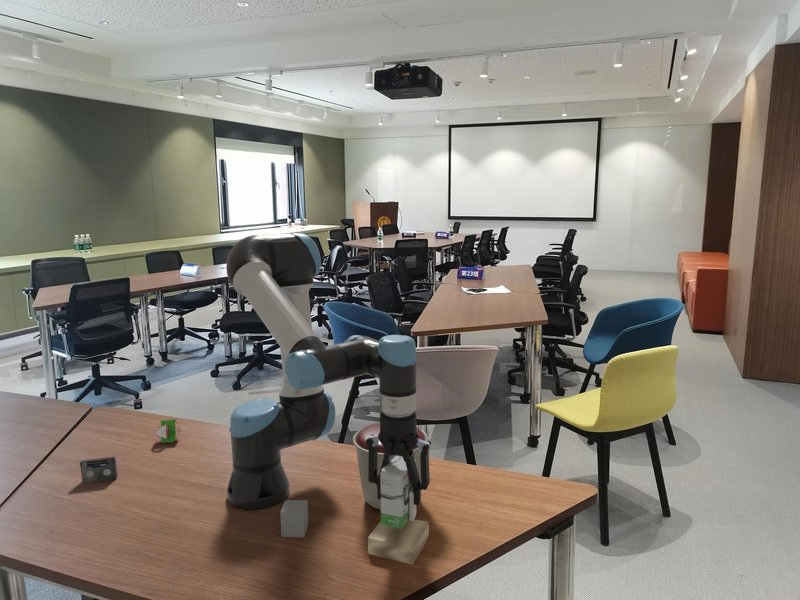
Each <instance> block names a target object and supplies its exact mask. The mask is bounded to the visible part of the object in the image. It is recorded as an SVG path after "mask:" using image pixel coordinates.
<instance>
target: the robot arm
mask: <svg viewBox="0 0 800 600" xmlns="http://www.w3.org/2000/svg"><path fill="white" fill-rule="evenodd" d="M225 267H226V275H227V278H228V281H229V283H230V284H231V287H233V289H234V290H235V292H236V293H238V294H240V295H242V296H244V297H245V298H246V300H247V301H248V303H249V304H250V305H251V307H252V309H253V310H254V311H255V313H256V314H257V316H258V317H259V318H260V320H261V321H262V323H263V324H264V325H265V327H266V329H267V330H268V331H269V333H270V334H271V335H272V337H273V339H274V340H275V341H276V343H277V344H278V346H279V348H280V358H281V368H282V369H281V370H282V376H283V377H282V378H283V387H282V388H281V390H279V392H278V397H279V398H278V399H279V402H278V401H276V400H275V399H273V398H269V397H264V398H261V399H260V398H256V399H251V400H249V401H246V402H243V403H241V404H240V405H238V406H237V407H236V408H235V409H234V410H233V411H232V412H231V415H230V422H229V423H230V427H229V433H230V441H231V442H230V443H231V455H232V456H231V458H232V471H231V475H230V477H229V482H228V485H227V487H226V489H227V491H226V496H227V501H228V503H229V504H230V505H231V506H233V507H234V508H238V509H241V510H261V509H266V508H269V507H273V506H275V505H278V504H279V503H281V502H283V501H285V499H286V498H287V497H288V495H289V493H290V482H289V478H288V477H287V474H286V472H285V468H284V466H283V464H282V457H281V451H282V450H285V449H287V448H288V449H289V448H290V447H295V446H298V445H301V444H304V443H307V442H310V441H316V440H318V439H319V438H321V437H325V436H326V435H329V433H330V432H331V430H332V429H333V428H334V426H335V425H334V424H335V420H336V407H335V403H334V401H333V397H332V396H331V394H329V393H328V391H325V387H324V386H323V385H327V384H331V383H335V382H340V381H345V380H348V379H353V378H357V377H360V376H363V375H364V376H365V375H366V376H367V375H369V376H371V377H373V378H376V379H378V381H379V382H378V383H379V388H378V389H379V410H380V413H379V422H380V433H379V435H373V434H371V435H370V436H369V437H368V438H367V440H366V443H367V446H368V449H369V463H368V481H369V482H370V483H375V484H376V485H377V497H378V500H381V480H380V473H379V476H378V475H377V463H378V444H379V441H380V442H381V444H382V445H383V447H384V448H385V453H384V457H383V462H382V465H381V469H380V472H381V470H382V469H383V468H384V467H385V466H388V464H389V463H390V461H391V458H392V455H399V456H403V460H404V462H405V463H406V467H407V470H408V474H409V477H410V481H411V484H412V488H411V490H410V492H409V503H410V521H413V520H414V519H416V516H417V506H419V504H420V503H421V500H422V490H423V491H425V490H427V489H428V487H429V485H430V478H431V477H430V456H429V455H430V453H429V452H430V448H431V446H432V441H430V440H429V439H428V440H427V441H423V440H421V439H419V437H418V435H417V431H416V429H417V428H418V427H417V412H416V410H417V409H418V408H417V362H418V361H417V360H418V356H417V350H416V349H417V347H416V342H415V339H414V338H412V337H411V336H410V335H409V336H408V335H400V334H391V335H384V336H382V337H380V339H379V340H378V339H375V338H371V336H367V335H360V334H359V335H358V334H356V335H351V336H349V337H348V338H346V340H344V342H341V343H335V344H330V345H325V344H324V342H323V341H322V340H321V339H320V338H319V337H318V335H317V334H316V332H315V331H314V330H313V324H312V315H311V314H312V313H311V305H310V304H311V303H310V295H309V294H310V293H309V291H310V290H311V288H312V287H313V286H314V284H315V283H314V278H315V277H316V276H318V275H319V273H320V271H321V269H320V268H322V260H321V254H320V250H319V248H318V246H317V244H316V242H315V241H314V240H313V238H312V237H310V235H307V234H305V233H298V232H297V233H296V232H295V233H294V232H289V233H276V234H260V235H259V234H255V235H254V234H253V235H248V236H246V237H243V238H242V239H240V240H239V241H238V242H237V243H235V244H234V246H233V247H232V248H231V249H230V251H229V253H228V255H227V259H226V266H225ZM416 445H418V447H419V451H420V452H421V455H420V464H421V481H420V477H419V474H418V470H417V467H416V463H415V460H414V453H413V448H414V447H415V446H416Z"/></svg>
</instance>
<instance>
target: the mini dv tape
mask: <svg viewBox="0 0 800 600" xmlns="http://www.w3.org/2000/svg"><path fill="white" fill-rule="evenodd" d="M79 466H80V473H81V474H80V475H81V480H82V481H81V483H82V484H85V483H94V482H95V483H97V482H103V481H111V480H113V481H114V480H118V475H119V474H118V463H117V457H116V456H109V457H98V458H92V459H91V458H90V459H82V460H80V462H79Z"/></svg>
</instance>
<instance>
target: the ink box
mask: <svg viewBox="0 0 800 600" xmlns="http://www.w3.org/2000/svg"><path fill="white" fill-rule="evenodd" d="M414 460H415V459H414ZM415 463H416V460H415ZM380 480H381V510H380V521H381V525H386V526H390V527H395V528H400V529H402V528H403V526H404V525H405V524H406V522H407V521H408V520H409V518H410V503H409V492H410V490H411V488H412V484H411V481H410V477H409V474H408V470H407V467H406V463H405V462H404V460H403V457H401V456H395V457H394V458H393V459H392V460H391V461H390V463H389V464H388V466H385V467H384V468H383V469H382V470H381V472H380Z"/></svg>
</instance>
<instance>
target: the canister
mask: <svg viewBox="0 0 800 600" xmlns="http://www.w3.org/2000/svg"><path fill="white" fill-rule="evenodd" d="M416 431H417V435H418V437H419V439H421V440H423V441H427V440H429V436H428V434H427V433H426V432H425V431H424V430H423V429H422V428H419V427H417V429H416ZM379 433H380V421H379V422H375V423H372V424H369V425H367V426H364V427H363V428H361V429H359V430H358V431H357V432H355V434H353V436H352V443H353V446H354V447H355V448H356V457H357V463H358V464H357V465H358V471H359V478H360V483H361V491H362V494H363V498H364V500H365V501H366V503H367V504H368V505H369V506H371V507H372V508H374V509H376V510H379V511H381V500H378V497H377V485H376V484H375V483H370V482H369V481H368V463H369V449H368V446H367V443H366V440H367V438H368V437H369V436H370V435H371V434H373V435H379ZM384 453H385V448H384V447H383V445H382V444H381V442H380V441H379V444H378V463H377V475H378V476H379V473H380V469H381V465H382V462H383V457H384ZM413 453H414V459H415V460H416V467H417V470H418V474H419V477H420V481H421V464H420V455H421V452H420V451H419V447H418V445H416V446H415V447H414V448H413ZM395 456H399V455H392V458H391V460H392V459H393V458H394V457H395ZM401 457H403V456H401Z"/></svg>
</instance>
